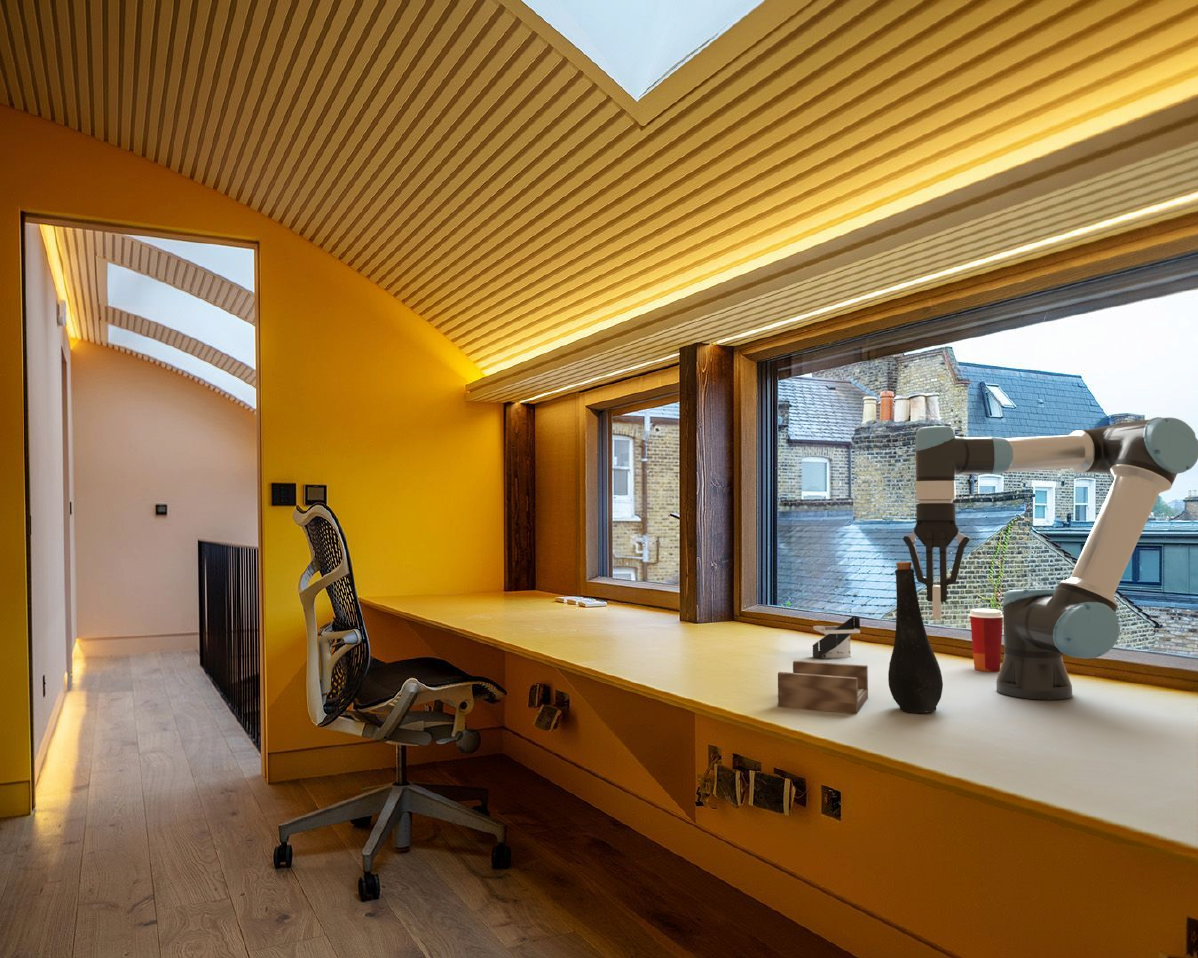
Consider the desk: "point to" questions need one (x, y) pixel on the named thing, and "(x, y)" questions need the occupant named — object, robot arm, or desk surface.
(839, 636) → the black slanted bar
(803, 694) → the cradle
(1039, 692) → the robot arm
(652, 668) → the desk surface
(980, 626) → the coffee cup
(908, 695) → the bottle
